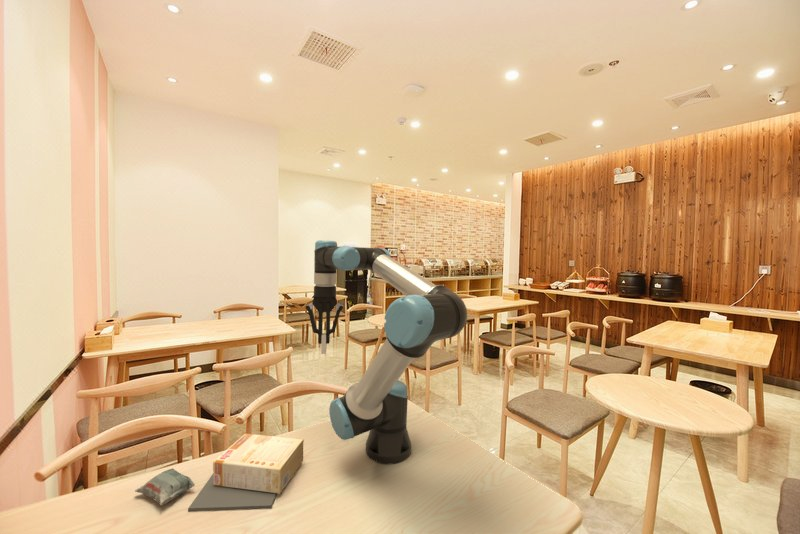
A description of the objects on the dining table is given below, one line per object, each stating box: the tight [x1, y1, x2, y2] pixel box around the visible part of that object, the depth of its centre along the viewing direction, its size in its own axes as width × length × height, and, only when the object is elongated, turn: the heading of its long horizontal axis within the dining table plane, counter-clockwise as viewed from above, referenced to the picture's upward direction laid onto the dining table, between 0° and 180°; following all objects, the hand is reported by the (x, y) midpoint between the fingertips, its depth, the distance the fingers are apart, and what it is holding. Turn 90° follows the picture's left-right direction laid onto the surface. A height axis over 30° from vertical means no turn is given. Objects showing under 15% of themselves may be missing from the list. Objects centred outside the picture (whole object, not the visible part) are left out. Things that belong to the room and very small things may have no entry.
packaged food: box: [134, 468, 196, 507], centre depth 88 cm, size 9×12×5 cm
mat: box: [187, 473, 278, 513], centre depth 93 cm, size 20×19×1 cm
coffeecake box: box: [212, 433, 304, 494], centre depth 97 cm, size 15×7×20 cm
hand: (323, 352), depth 116 cm, fingers closed
